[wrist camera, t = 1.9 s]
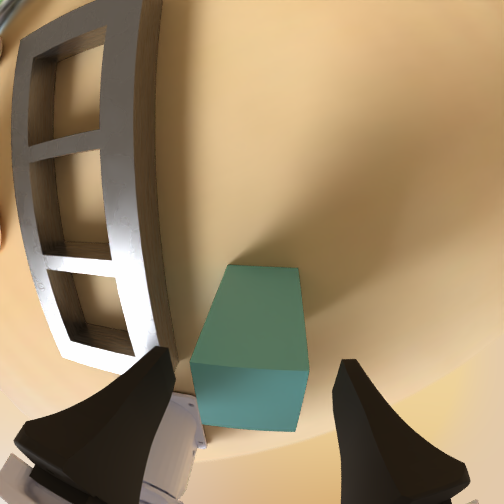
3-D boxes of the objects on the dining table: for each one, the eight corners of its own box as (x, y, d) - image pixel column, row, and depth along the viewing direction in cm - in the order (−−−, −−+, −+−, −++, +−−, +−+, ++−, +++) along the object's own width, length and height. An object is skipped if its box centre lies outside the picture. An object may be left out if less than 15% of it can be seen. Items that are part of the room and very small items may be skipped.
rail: (178, 361, 20) (169, 384, 17) (76, 339, 20) (62, 356, 18) (162, 0, 10) (145, -17, 8) (42, 44, 11) (20, 40, 9)
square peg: (292, 325, 17) (295, 431, 10) (229, 321, 18) (201, 424, 10) (297, 268, 16) (309, 370, 9) (227, 264, 16) (189, 361, 9)
